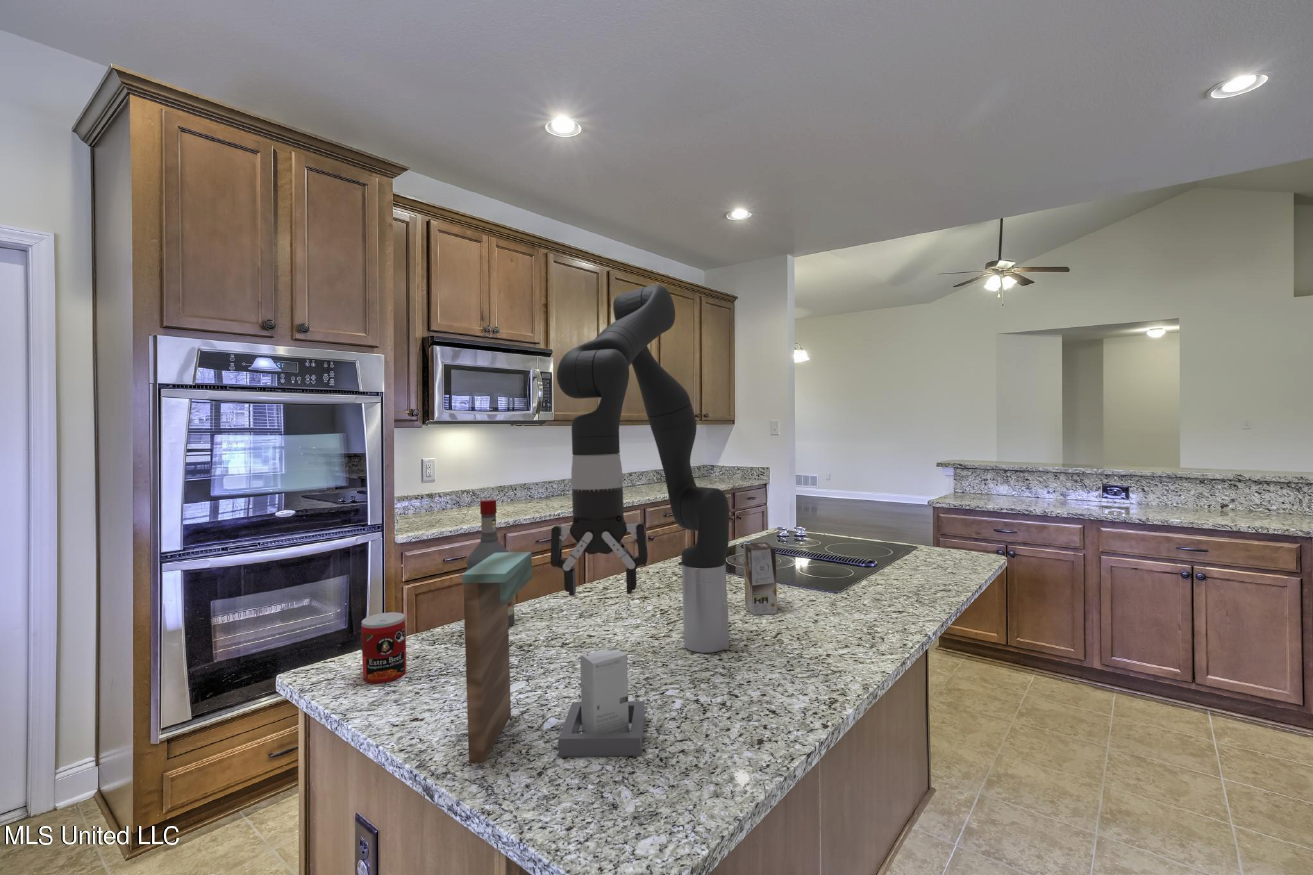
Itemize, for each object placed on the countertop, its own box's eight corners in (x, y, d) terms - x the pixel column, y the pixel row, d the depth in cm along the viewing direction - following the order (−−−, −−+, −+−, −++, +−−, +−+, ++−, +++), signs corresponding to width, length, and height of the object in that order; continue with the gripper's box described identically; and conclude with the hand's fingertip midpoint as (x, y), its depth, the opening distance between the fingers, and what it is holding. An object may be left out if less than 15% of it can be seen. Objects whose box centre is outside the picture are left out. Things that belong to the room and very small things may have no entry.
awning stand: (536, 713, 97) (531, 551, 97) (510, 764, 82) (505, 573, 82) (499, 713, 97) (494, 552, 97) (467, 764, 82) (461, 574, 82)
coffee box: (778, 614, 146) (776, 548, 146) (752, 615, 145) (750, 549, 145) (768, 603, 155) (766, 541, 155) (744, 604, 155) (742, 542, 154)
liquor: (463, 631, 140) (459, 502, 139) (487, 619, 148) (484, 498, 148) (496, 634, 136) (492, 503, 136) (519, 622, 145) (515, 498, 145)
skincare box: (594, 748, 86) (592, 663, 86) (580, 735, 90) (578, 654, 89) (631, 735, 89) (628, 654, 89) (616, 723, 93) (614, 645, 93)
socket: (645, 716, 95) (644, 700, 95) (640, 755, 83) (640, 737, 83) (572, 717, 95) (572, 701, 95) (558, 756, 84) (558, 738, 84)
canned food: (363, 687, 109) (361, 627, 109) (362, 672, 116) (360, 616, 116) (408, 678, 113) (406, 620, 113) (404, 664, 120) (403, 609, 120)
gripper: (646, 481, 92) (649, 586, 93) (554, 484, 93) (558, 588, 93) (643, 485, 85) (647, 599, 85) (544, 488, 85) (548, 602, 86)
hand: (600, 593), depth 89 cm, fingers open, 8 cm apart
